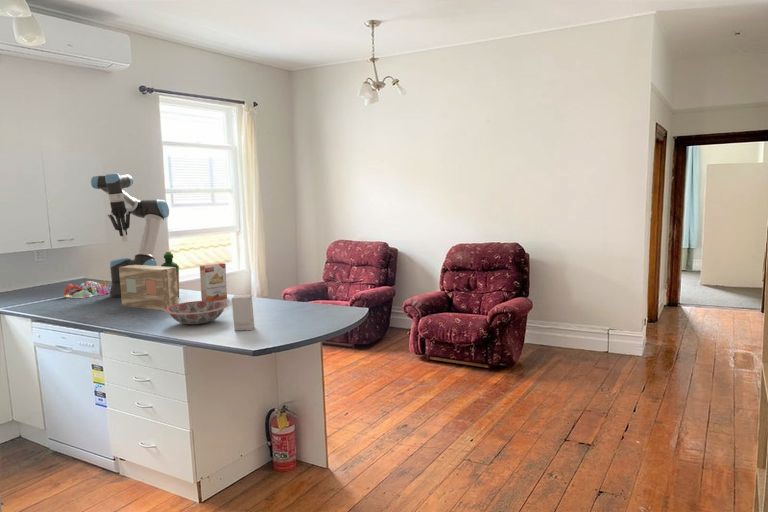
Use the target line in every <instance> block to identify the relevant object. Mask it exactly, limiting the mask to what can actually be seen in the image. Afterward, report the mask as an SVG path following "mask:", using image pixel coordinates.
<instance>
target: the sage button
mask: <svg viewBox="0 0 768 512" xmlns="http://www.w3.org/2000/svg"><path fill="white" fill-rule="evenodd" d="M126 287H127V292H129V293H137V288H136V278H126Z"/></svg>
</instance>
